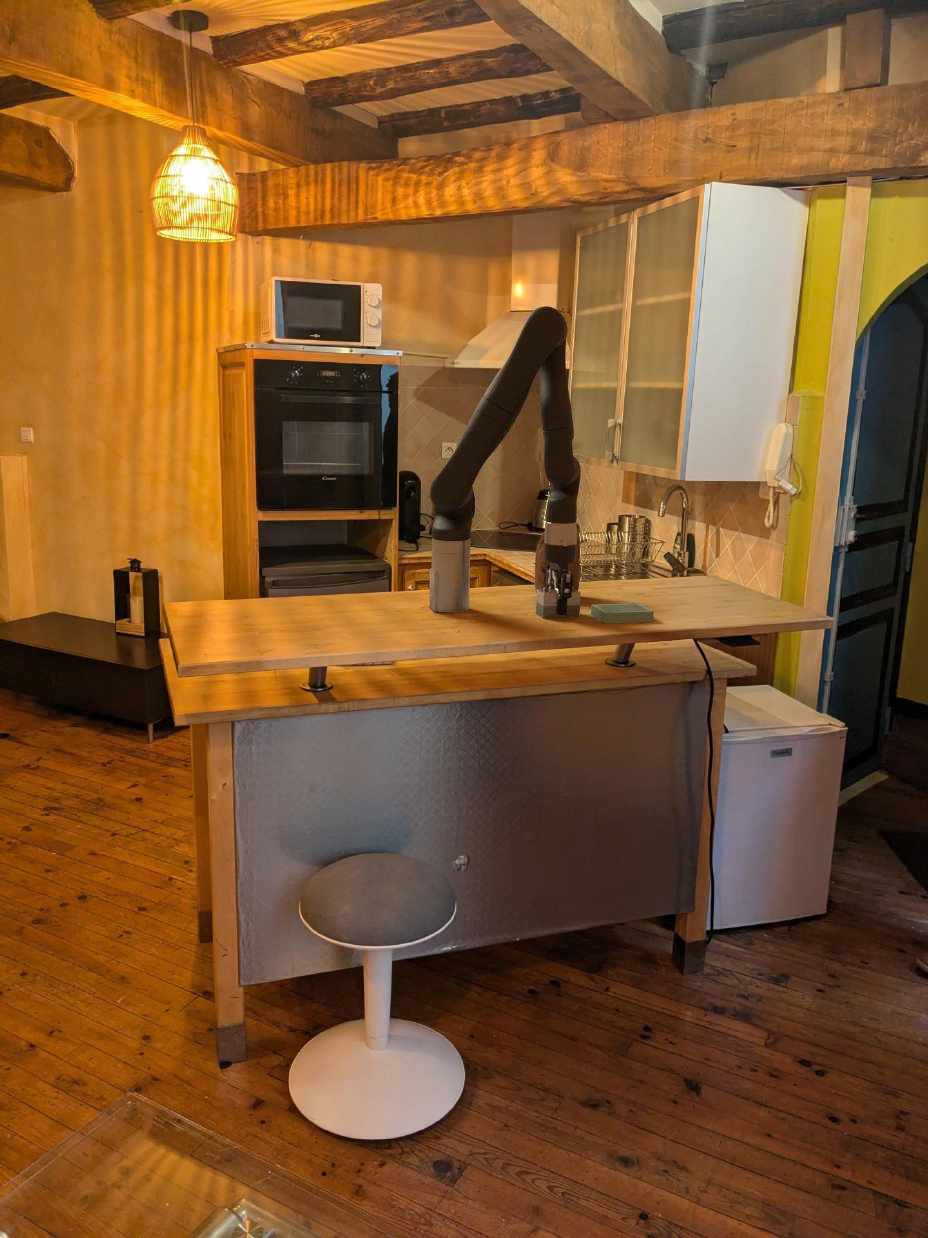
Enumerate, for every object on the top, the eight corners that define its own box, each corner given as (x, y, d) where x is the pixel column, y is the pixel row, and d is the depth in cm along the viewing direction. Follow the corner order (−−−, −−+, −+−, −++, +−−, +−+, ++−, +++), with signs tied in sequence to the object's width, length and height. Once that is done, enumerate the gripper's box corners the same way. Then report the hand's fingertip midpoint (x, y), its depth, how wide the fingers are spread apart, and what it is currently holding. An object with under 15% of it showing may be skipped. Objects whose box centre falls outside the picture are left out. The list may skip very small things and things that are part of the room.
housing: (543, 618, 222) (544, 590, 220) (535, 613, 227) (536, 586, 226) (579, 617, 224) (580, 589, 223) (571, 612, 229) (572, 584, 228)
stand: (604, 623, 218) (604, 612, 217) (590, 615, 226) (591, 604, 226) (653, 621, 220) (653, 611, 220) (638, 613, 229) (638, 603, 228)
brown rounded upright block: (569, 593, 251) (573, 518, 246) (581, 599, 244) (584, 521, 239) (531, 595, 248) (533, 519, 243) (541, 601, 241) (544, 522, 236)
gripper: (536, 537, 228) (534, 606, 231) (554, 546, 214) (551, 619, 218) (566, 536, 229) (563, 605, 233) (586, 545, 216) (582, 618, 219)
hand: (557, 611), depth 225 cm, fingers closed on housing, 5 cm apart
